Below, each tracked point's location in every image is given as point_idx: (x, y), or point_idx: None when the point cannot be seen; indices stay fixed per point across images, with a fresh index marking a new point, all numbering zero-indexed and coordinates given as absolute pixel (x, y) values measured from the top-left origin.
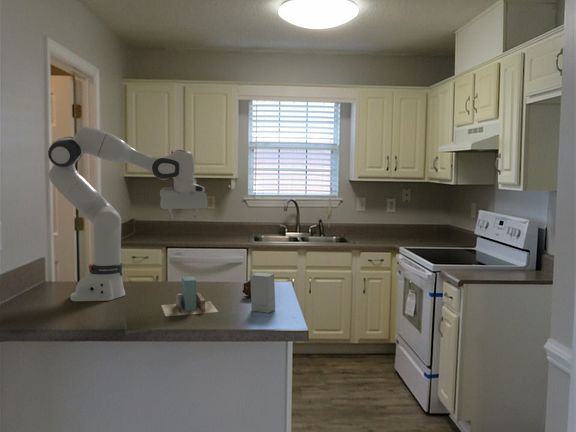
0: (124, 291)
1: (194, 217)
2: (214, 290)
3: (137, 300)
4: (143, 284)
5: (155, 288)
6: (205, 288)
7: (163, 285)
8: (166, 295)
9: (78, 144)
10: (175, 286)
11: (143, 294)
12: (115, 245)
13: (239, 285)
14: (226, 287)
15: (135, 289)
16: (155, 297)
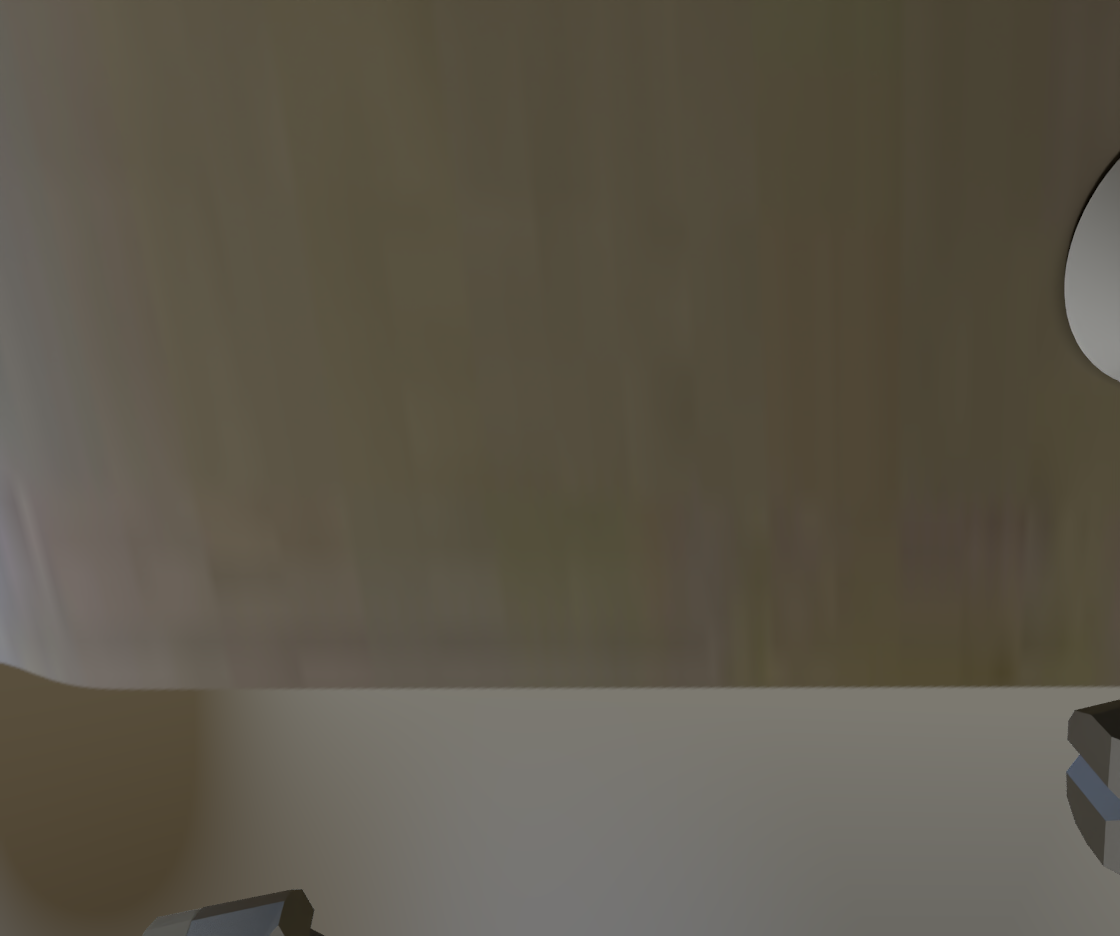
0: (1091, 267)
1: (244, 934)
2: (267, 396)
3: (965, 43)
4: (905, 609)
5: (807, 481)
6: (365, 470)
7: (743, 576)
8: (701, 226)
9: None
10: (640, 543)
11: (908, 275)
12: None
13: (61, 568)
14: (171, 501)
15: (971, 452)
16: (800, 154)
